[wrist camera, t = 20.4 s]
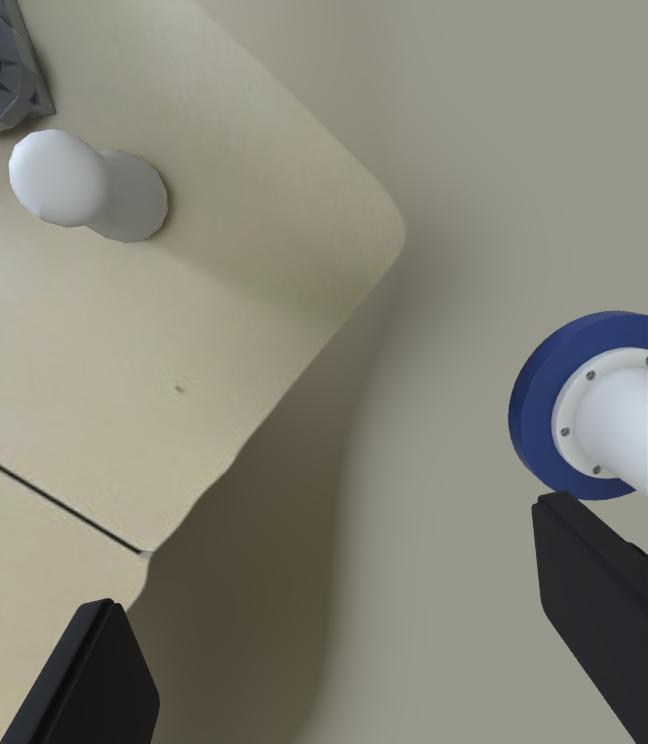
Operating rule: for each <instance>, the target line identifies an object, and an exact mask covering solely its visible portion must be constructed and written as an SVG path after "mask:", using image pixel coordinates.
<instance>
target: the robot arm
mask: <svg viewBox="0 0 648 744" xmlns="http://www.w3.org/2000/svg"><path fill="white" fill-rule="evenodd" d="M551 429H552V437H553V440H554V444H555V446H556V448H557V450H558V452H559V454H560V455H561V456H562V457H563V459H564V460H565V461H566V462H567V463H568V464H570V465H571V466H572V467H574V468H575V469H576V470H578V471H580V472H581V473H583V474H585V475H588V476H591V477H594V478H604V479H610V478H620V479H621V480H623V481H624V482H626V483H627V484H629V485H630V486H632V487H633V488H635V489H636V490H638V491H639V492H641V493H642V494H644V495H645V496H646V497H648V350H646V349H643V348H635V347H623V348H616V349H612V350H609V351H605V352H603V353H601V354H599V355H597V356H594V357H593V358H591V359H590V360H588V361H587V362H585V363H584V364H582V365H581V366H580V367H579V368H578V369H577V370H576V371H575V372H574V373H573V374H572V375H571V376H570V378H569V379H568V380H567V381H566V383H565V384H564V385H563V387H562V389H561V391H560V393H559V395H558V396H557V399H556V402H555V405H554V408H553V413H552V419H551ZM532 519H533V529H534V538H535V548H536V558H537V568H538V577H539V587H540V597H541V603H542V606H543V609H544V612H545V614H546V616H547V617H548V619H549V620H550V622H551V623H552V625H553V626H554V628H555V629H556V630H557V632H558V633H559V635H560V636H561V638H562V639H563V640H564V642H565V643H566V644H567V646H568V647H569V649H570V650H571V652H572V653H573V655H574V656H575V657H576V659H577V660H578V662H579V663H580V664H581V666H582V667H583V669H584V670H585V672H586V673H587V674H588V676H589V677H590V679H591V680H592V682H593V683H594V684H595V686H596V687H597V688H598V690H599V692H600V693H601V694H602V696H603V697H604V699H605V700H606V701H607V703H608V704H609V706H610V707H611V709H612V710H613V711H614V713H615V714H616V715H617V717H618V718H619V720H620V721H621V723H622V724H623V726H624V727H625V728H626V730H627V731H628V733H629V734H630V735H631V737H632V738H633V740H634V741H635V743H636V744H648V555H647V554H646V553H645V552H644V551H642V550H641V549H640V548H639V547H637V546H636V545H634V544H633V543H630V542H626V541H625V540H624V539H623V538H622V537H620V536H619V535H618V534H617V533H616V532H614V531H613V530H612V529H611V528H610V527H609V526H608V525H606V524H605V523H604V522H603V521H602V520H600V519H599V518H598V517H597V516H596V515H595V514H594V513H593V512H591V511H590V510H589V509H588V508H587V507H586V506H585V505H583V504H582V503H581V502H580V501H579V500H578V499H576V498H575V497H574V496H573V495H572V494H571V493H569V492H568V491H566V490H561V491H557V492H553V493H549V494H545V495H540V496H539V497H538V503H536V504H533V505H532ZM159 707H160V700H159V694H158V691H157V688H156V687H155V684H154V682H153V679H152V676H151V674H150V672H149V669H148V667H147V664H146V662H145V660H144V657H143V655H142V652H141V650H140V647H139V645H138V643H137V640H136V638H135V635H134V633H133V631H132V628H131V626H130V624H129V621H128V619H127V616H126V614H125V611H124V609H123V607H122V605H121V604H120V603H114V601H113V600H112V599H110V598H106V599H102V600H98V601H93V602H89V603H85V604H82V605H81V606H80V607H79V608H78V609H77V611H76V613H75V614H74V616H73V618H72V619H71V621H70V623H69V625H68V626H67V628H66V630H65V631H64V633H63V635H62V637H61V638H60V640H59V642H58V643H57V645H56V647H55V649H54V650H53V652H52V654H51V656H50V657H49V659H48V661H47V662H46V664H45V666H44V668H43V669H42V671H41V673H40V674H39V676H38V678H37V680H36V681H35V683H34V685H33V686H32V688H31V690H30V692H29V693H28V695H27V697H26V698H25V700H24V702H23V704H22V705H21V707H20V709H19V710H18V712H17V714H16V716H15V717H14V719H13V721H12V723H11V724H10V726H9V728H8V729H7V731H6V733H5V735H4V736H3V738H2V740H1V741H0V744H150V743H151V739H152V735H153V732H154V728H155V724H156V721H157V717H158V713H159Z"/></svg>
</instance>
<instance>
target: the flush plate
mask: <svg viewBox="0 0 648 744" xmlns="http://www.w3.org/2000/svg"><path fill="white" fill-rule="evenodd" d="M55 113H56V111H55V108H54V105H53V102H52V100H51V97H50V94H49V91H48V89H47V86H46V83H45V80H44V78H43V75H42V72H41V69H40V66H39V64H38V61H37V58H36V55H35V53H34V50H33V47H32V44H31V41H30V39H29V36H28V33H27V30H26V28H25V25H24V22H23V19H22V17H21V14H20V11H19V8H18V5H17V3H16V0H0V131H1V130H6V129H10V128H14V127H15V126H16V125H17V124H18V123H19V122H20V121H25V120H29V119H34V118H38V117H42V116H47V115H51V114H55Z"/></svg>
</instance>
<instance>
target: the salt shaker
mask: <svg viewBox="0 0 648 744" xmlns="http://www.w3.org/2000/svg"><path fill="white" fill-rule="evenodd" d="M9 173H10V182H11V187H12V188H13V190H14V192H15V193H16V195H17V197H18V198H19V200H20V202H21V204H22V205H23V206H24V207H25V208H27V209H28V210H29V211H30V212H32V213H33V214H34V215H36V216H37V217H38V218H39V219H41V220H43V221H45V222H48V223H52V224H56V225H59V226H63V227H77V226H83V225H85V226H87V227H89V228H90V229H92V230H94V231H95V232H97V233H99V234H101V235H102V236H104V237H106V238H109V239H113V240H116V241H120V242H124V243H129V242H135V241H141V240H145V239H147V238H148V237H149V236H151V235H152V234H153V233H154V232H156V231H157V230H158V229H160V227H161V225H162V223H163V221H164V218H165V216H166V214H167V212H168V206H167V191H166V189H165V187H164V185H163V183H162V181H161V178H160V176H159V174H158V172H157V171H156V170H155V169H154V168H153V167H151V166H150V165H149V164H148V163H147V162H145V161H144V160H143V159H142V158H141V157H138V156H135V155H132V154H129V153H126V152H123V151H96V150H95V149H94V148H92V147H91V146H90V145H89V144H88V143H86V142H85V141H84V140H83V139H81V138H80V137H78V136H75V135H72V134H68V133H65V132H62V131H59V130H53V129H50V130H44V131H39V132H33V133H30V134H29V135H28V136H26V137H25V138H24V139H23V140H21V141H20V142H19V143H17V144H16V145H15V148H14V150H13V153H12V156H11V159H10V162H9Z"/></svg>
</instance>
